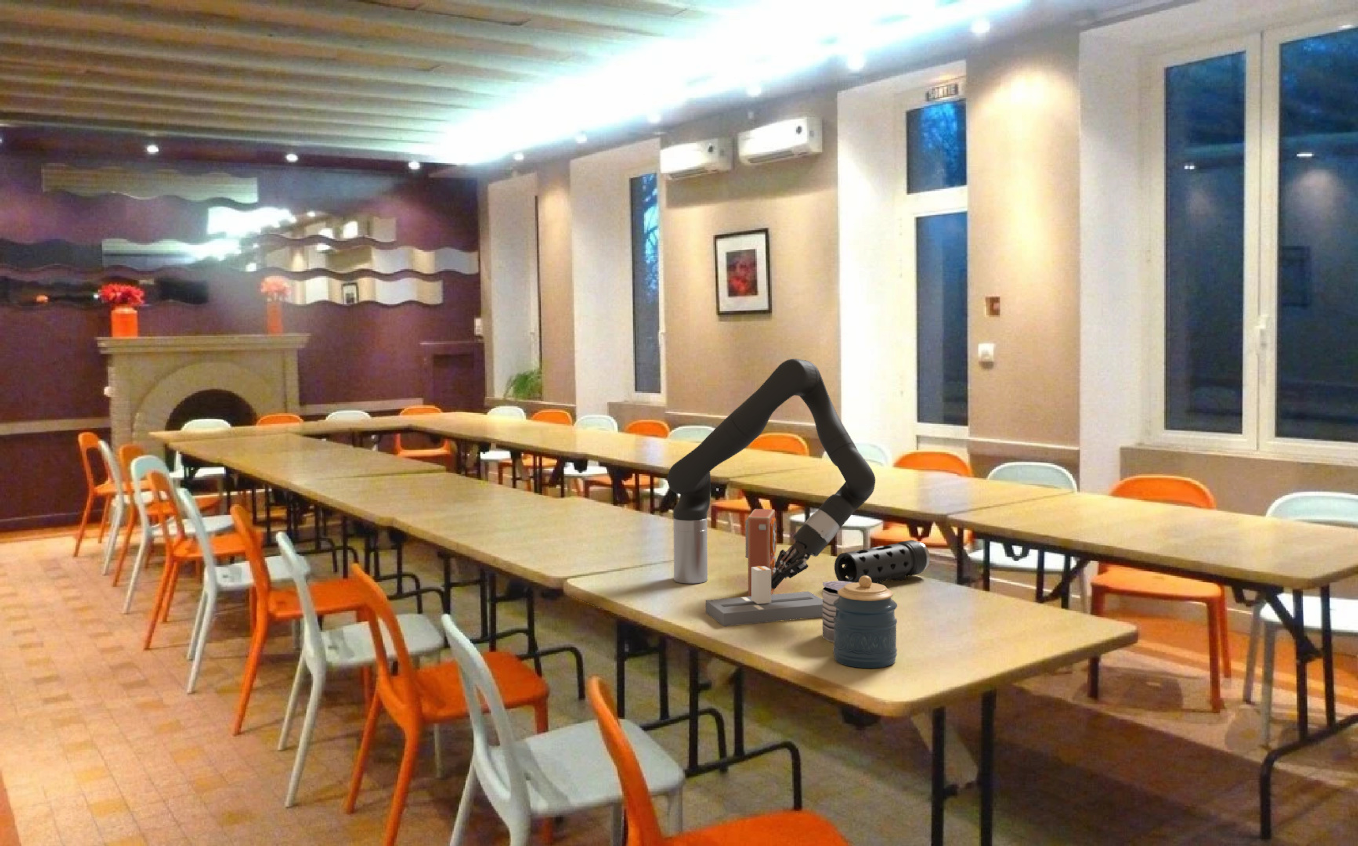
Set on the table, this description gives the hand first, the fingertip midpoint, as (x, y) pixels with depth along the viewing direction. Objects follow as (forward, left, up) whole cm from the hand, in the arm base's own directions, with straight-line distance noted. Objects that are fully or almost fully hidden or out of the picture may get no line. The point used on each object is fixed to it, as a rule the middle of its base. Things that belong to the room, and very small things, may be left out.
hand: (770, 586), depth 261 cm
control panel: (-18, +5, -7) cm, 20 cm away
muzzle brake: (-20, +41, -7) cm, 46 cm away
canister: (+40, +5, -7) cm, 41 cm away
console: (0, -1, -7) cm, 7 cm away
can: (+24, +9, -7) cm, 27 cm away
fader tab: (0, -2, -3) cm, 4 cm away
